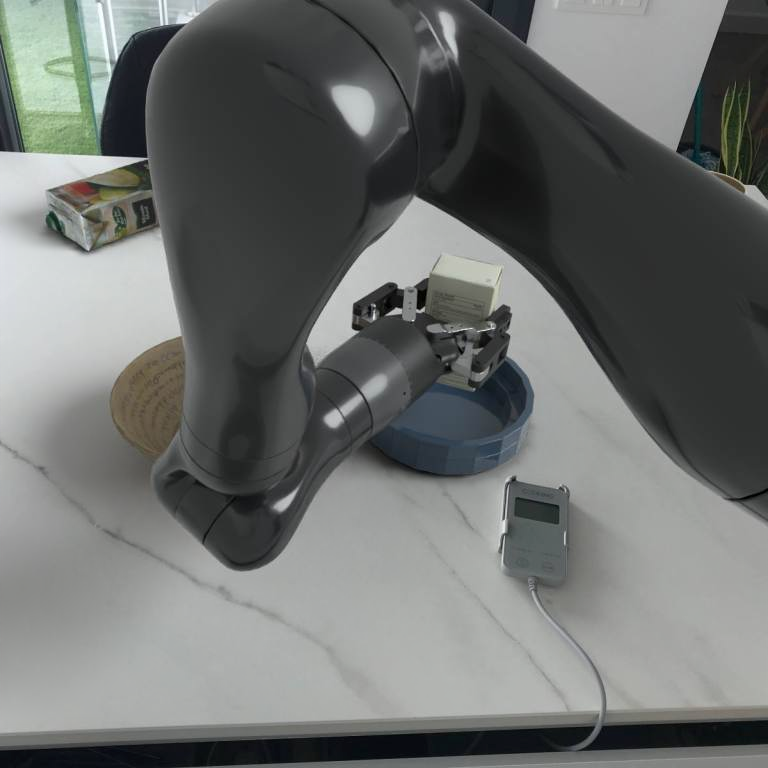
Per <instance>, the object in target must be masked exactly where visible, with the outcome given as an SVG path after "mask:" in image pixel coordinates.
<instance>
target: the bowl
mask: <svg viewBox="0 0 768 768" xmlns="http://www.w3.org/2000/svg"><path fill="white" fill-rule="evenodd" d="M184 372H185V364H184V349H183V341H182V335H180V336H177V337H173V338H171V339H167V340H164V341H162V342H160V343H158V344H156V345H154V346H152V347H149V348H148V349H146V350H145V351H143V352H142V353H141V354H140V355H138V356H136V357H135V358H134V359H133V360H132V361H131V362H130V363H128V364H127V365H126V367H125V368H124V369H123V370H122V371H121V372H120V374H119V375H118V377H117V378H116V380H115V381H114V383H113V386H112V387H111V392H110V395H109V409H110V414H111V418H112V422H113V424H114V425H115V428H116V429H117V431H118V432H119V434H120V436H121V437H122V438H123V439H124V440H125V441H126V442H127V443H128V444H130V445H131V446H132V447H133V448H135V449H136V450H137V451H139V452H140V453H142V454H143V455H144V456H146V457H148V458H150V459H151V460H153V461H156V459H157V458H158V456H159V455H160V453H161V452H162V451H163V450H164V449H165V447H166V446H167V445H168V444H169V443H170V442H171V440H172V439H173V437H174V435H175V434H176V432H177V430H178V429H179V427H180V422H181V410H182V398H183V388H184Z"/></svg>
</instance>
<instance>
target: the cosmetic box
mask: <svg viewBox="0 0 768 768" xmlns="http://www.w3.org/2000/svg"><path fill="white" fill-rule="evenodd" d="M503 274H504V266H503V265H499V264H495V263H492V262H487V261H484V260H478V259H476V258H475V259H474V258H470V257H466V256H462V255H456V254H454V253H453V254H452V253H447V252H444V251H442V252H441V253H440V255H439V256H438V257H437V259H436V260H435V262H434V264H433V266H432V267H431V269H430V270H429V274H428V275H429V276H428V278H429V282H428V290H427V297H426V304H425V307H424V311H423V312H425V313H427V314H429V315H431V316H432V317H434V318H435V319H437V320H441V321H445V322H447V323H449V324H450V323H455V322H461V321H469V322H470V324H474V323H479V322H485V320H486V318H488V317H489V316H490V315H491V314H492V313H493V312H495V311H496V308H497V303H498V298H499V293H500V289H501V288H500V287H501V284H502V279H503ZM480 336H481V335H478V336H476V337H475V338H474V340H479V339H480ZM456 338H457V344H459V338H460V335H457V336H456ZM472 355H473V354H472ZM436 382H437V383H441V384H445V385H448V386H452V387H456V388H460V389H464V390H468V391H474V390H475V388H471V387H470V386H469V385H468V377H466V376H464V375H462V374H460V373H457V372H455V371H453V372H451V373H449V374H445V375H442V376H440V377H439V378H438V379H437V380H436Z"/></svg>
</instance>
